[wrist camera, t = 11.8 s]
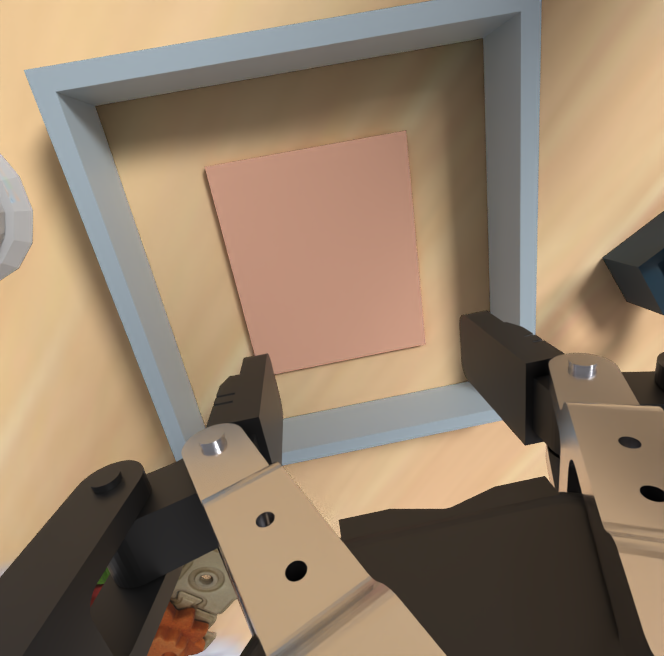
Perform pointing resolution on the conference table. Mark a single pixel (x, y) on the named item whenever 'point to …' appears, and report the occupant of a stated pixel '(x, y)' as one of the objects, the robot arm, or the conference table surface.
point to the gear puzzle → (190, 607)
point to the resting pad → (323, 250)
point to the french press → (13, 220)
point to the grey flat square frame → (281, 57)
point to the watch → (641, 266)
